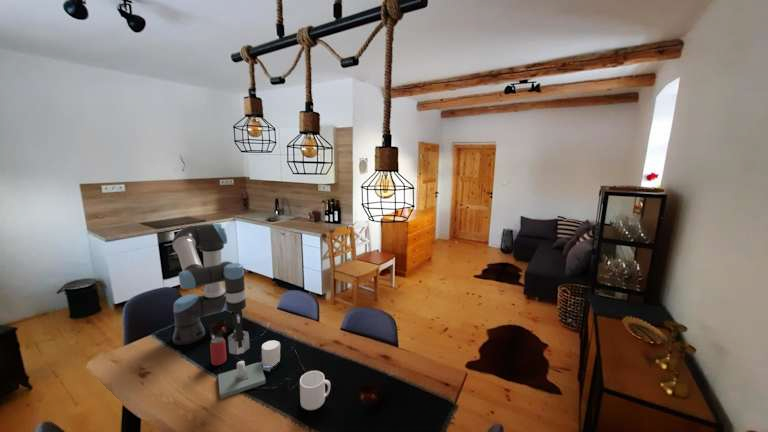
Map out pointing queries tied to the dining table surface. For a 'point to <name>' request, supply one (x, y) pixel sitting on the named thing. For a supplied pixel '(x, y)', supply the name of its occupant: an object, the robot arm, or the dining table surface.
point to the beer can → (218, 351)
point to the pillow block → (241, 379)
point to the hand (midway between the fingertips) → (239, 347)
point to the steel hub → (233, 343)
